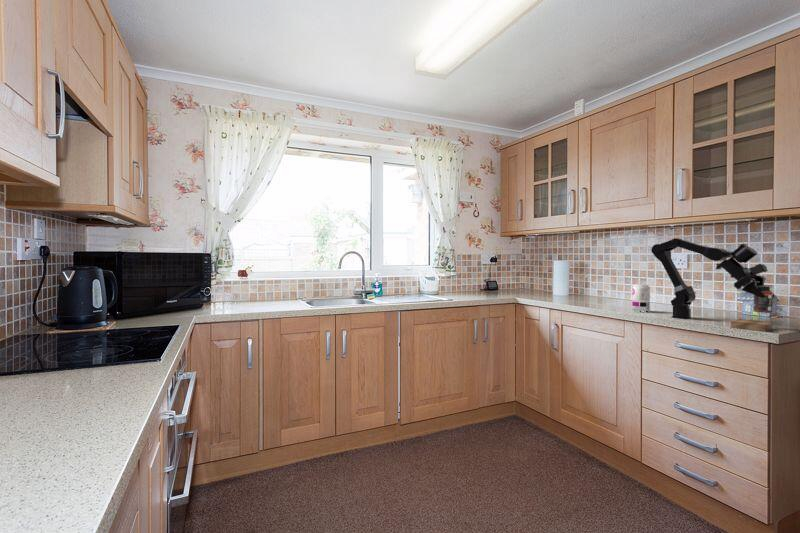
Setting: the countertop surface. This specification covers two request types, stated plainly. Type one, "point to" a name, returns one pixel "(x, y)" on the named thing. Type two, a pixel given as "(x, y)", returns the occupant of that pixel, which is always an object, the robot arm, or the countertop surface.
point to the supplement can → (641, 297)
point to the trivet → (751, 325)
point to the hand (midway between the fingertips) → (767, 297)
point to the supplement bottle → (763, 300)
